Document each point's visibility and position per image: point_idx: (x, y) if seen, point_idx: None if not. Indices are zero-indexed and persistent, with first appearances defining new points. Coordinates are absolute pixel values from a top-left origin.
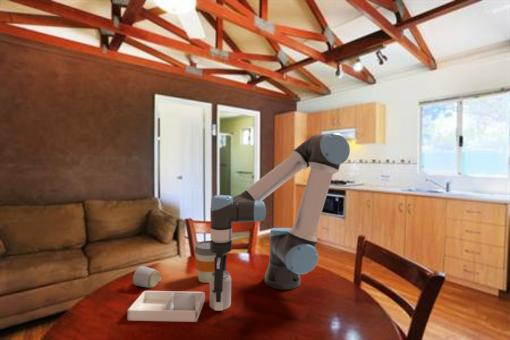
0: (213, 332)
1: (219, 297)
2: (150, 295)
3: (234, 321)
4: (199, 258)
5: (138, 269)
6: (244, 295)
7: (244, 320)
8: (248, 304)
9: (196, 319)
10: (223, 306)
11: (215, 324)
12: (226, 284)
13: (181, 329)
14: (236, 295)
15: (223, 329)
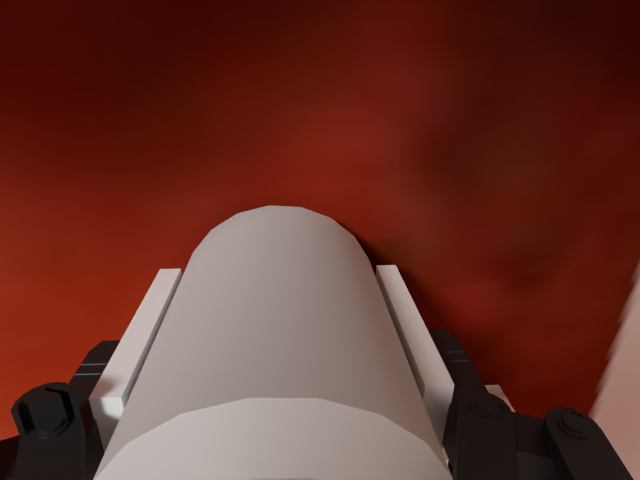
0: (609, 277)
1: (470, 372)
2: None
3: (507, 144)
4: None
5: None
6: (13, 66)
7: (506, 51)
8: (212, 11)
9: (511, 410)
10: (373, 271)
11: (521, 279)
12: (415, 407)
13: None
14: (40, 160)
15: (593, 218)
